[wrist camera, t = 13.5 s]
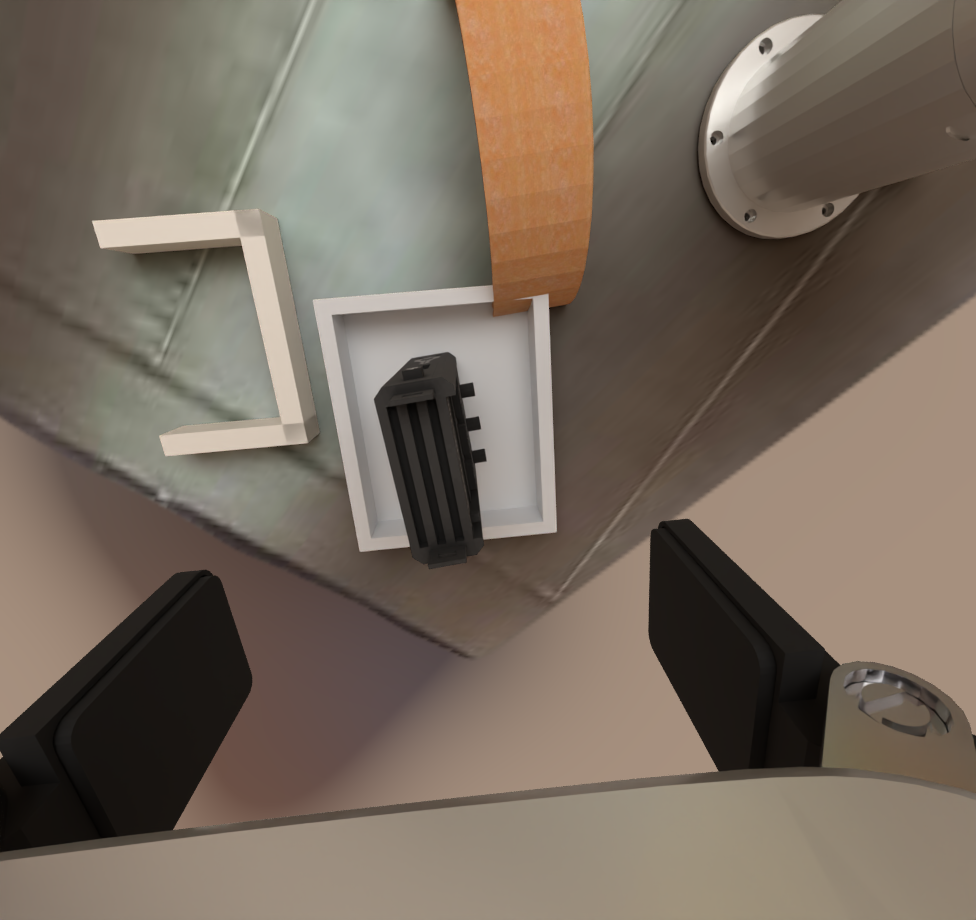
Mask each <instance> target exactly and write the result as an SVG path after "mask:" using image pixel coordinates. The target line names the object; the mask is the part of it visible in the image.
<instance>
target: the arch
mask: <svg viewBox="0 0 976 920" xmlns="http://www.w3.org/2000/svg"><path fill="white" fill-rule="evenodd" d="M455 3H456V8H457V13H458V18H459V23H460V29H461V34H462V40H463V45H464V51H465V57H466V64H467V70H468V76H469V82H470V88H471V95H472V102H473V109H474V115H475V122H476V130H477V137H478V145H479V152H480V159H481V167H482V176H483V184H484V192H485V201H486V210H487V219H488V228H489V239H490V250H491V264H492V280H493V296H494V302H492V308H493V317H496V316H502V315H508V314H513V313H519V312H525V311H528V309H529V307H530V305H531V302H532V299H533V298H532V299H521V298H527V297H532V296H538V295H544V294H548V296H549V307H555V306H561V305H567V304H570V303H571V302H572V301H573V299H574V298H575V297H576V294H577V292H578V290H579V287H580V284H581V281H582V277H583V273H584V270H585V264H586V258H587V252H588V246H589V236H590V226H591V215H592V195H593V120H592V97H591V84H590V71H589V59H588V50H587V42H586V35H585V27H584V19H583V13H582V7H581V2H580V0H455ZM515 299H519V300H515Z"/></svg>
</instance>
